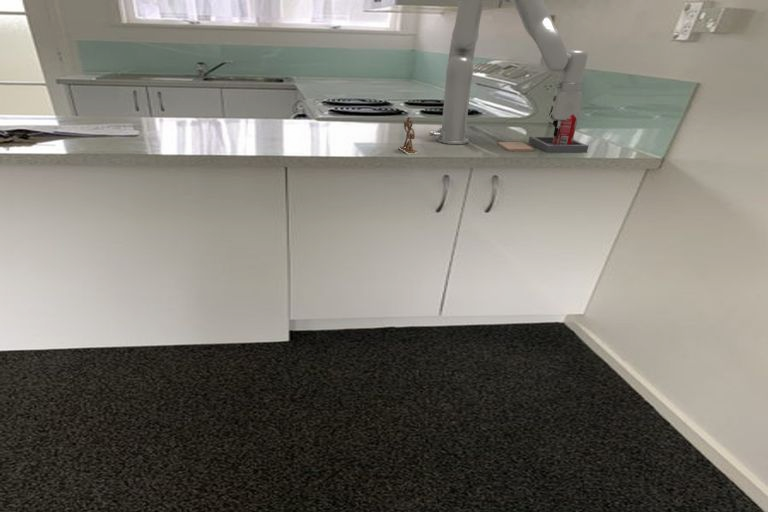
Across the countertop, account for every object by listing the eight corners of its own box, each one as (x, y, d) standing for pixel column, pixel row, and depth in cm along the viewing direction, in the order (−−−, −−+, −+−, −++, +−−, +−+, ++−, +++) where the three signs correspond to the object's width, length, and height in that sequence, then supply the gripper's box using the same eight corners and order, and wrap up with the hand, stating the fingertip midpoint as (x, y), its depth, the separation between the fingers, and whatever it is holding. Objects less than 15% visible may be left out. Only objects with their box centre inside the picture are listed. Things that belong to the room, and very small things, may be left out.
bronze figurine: (418, 154, 148) (420, 119, 142) (408, 155, 147) (410, 119, 141) (407, 148, 155) (409, 115, 150) (398, 149, 154) (399, 115, 148)
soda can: (573, 149, 161) (581, 114, 155) (554, 148, 161) (562, 113, 155) (567, 145, 167) (575, 111, 161) (549, 144, 167) (556, 110, 161)
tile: (507, 150, 156) (508, 148, 156) (497, 144, 166) (497, 142, 165) (533, 150, 157) (533, 148, 157) (521, 144, 167) (521, 142, 167)
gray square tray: (546, 152, 156) (547, 145, 154) (528, 142, 170) (529, 136, 169) (586, 152, 157) (588, 145, 156) (565, 142, 172) (567, 136, 170)
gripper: (554, 88, 149) (543, 140, 158) (594, 89, 151) (581, 140, 160) (544, 86, 156) (535, 136, 164) (583, 86, 158) (571, 136, 166)
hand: (558, 138), depth 162 cm, fingers closed
